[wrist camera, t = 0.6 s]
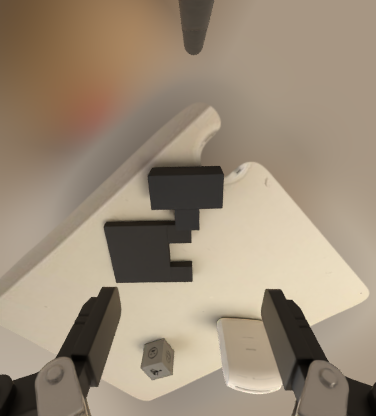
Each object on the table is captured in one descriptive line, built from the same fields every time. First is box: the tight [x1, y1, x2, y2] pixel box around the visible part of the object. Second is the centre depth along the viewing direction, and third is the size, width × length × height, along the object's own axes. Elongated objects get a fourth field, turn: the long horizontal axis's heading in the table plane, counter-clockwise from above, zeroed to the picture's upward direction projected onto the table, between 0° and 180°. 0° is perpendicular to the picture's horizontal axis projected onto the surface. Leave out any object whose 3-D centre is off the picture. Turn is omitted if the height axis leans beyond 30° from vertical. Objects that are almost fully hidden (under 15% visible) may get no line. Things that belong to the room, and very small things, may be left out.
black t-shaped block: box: [148, 166, 224, 231], centre depth 33 cm, size 10×8×4 cm
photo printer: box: [217, 318, 282, 394], centre depth 42 cm, size 10×4×12 cm, turn 84°
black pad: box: [104, 221, 192, 283], centre depth 39 cm, size 12×14×2 cm
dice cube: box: [141, 339, 174, 380], centre depth 49 cm, size 5×5×5 cm
